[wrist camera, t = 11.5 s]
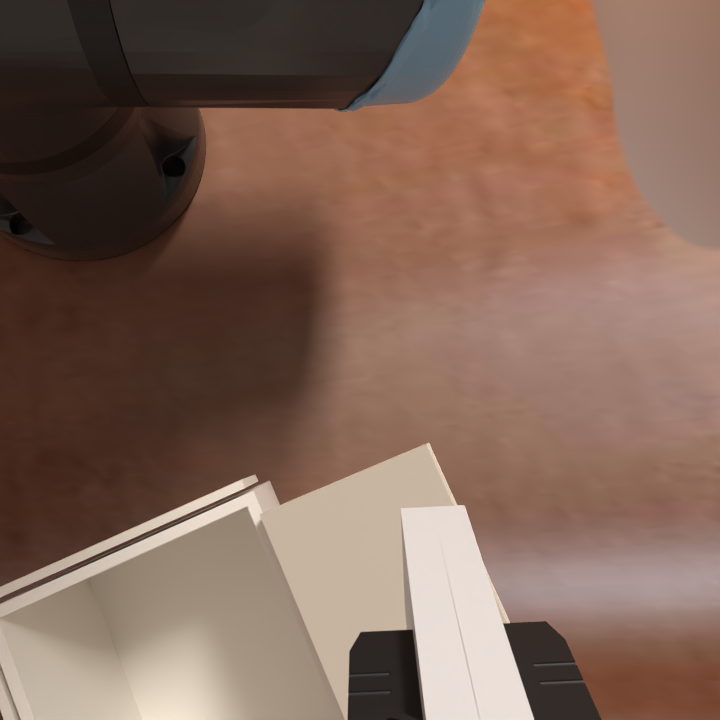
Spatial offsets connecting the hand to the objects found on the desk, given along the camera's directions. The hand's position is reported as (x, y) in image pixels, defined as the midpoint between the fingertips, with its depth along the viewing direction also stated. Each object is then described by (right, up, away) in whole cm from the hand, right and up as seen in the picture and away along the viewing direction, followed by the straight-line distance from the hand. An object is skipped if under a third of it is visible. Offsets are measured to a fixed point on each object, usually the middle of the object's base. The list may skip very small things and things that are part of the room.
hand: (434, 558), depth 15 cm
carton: (-9, -12, +22) cm, 27 cm away
